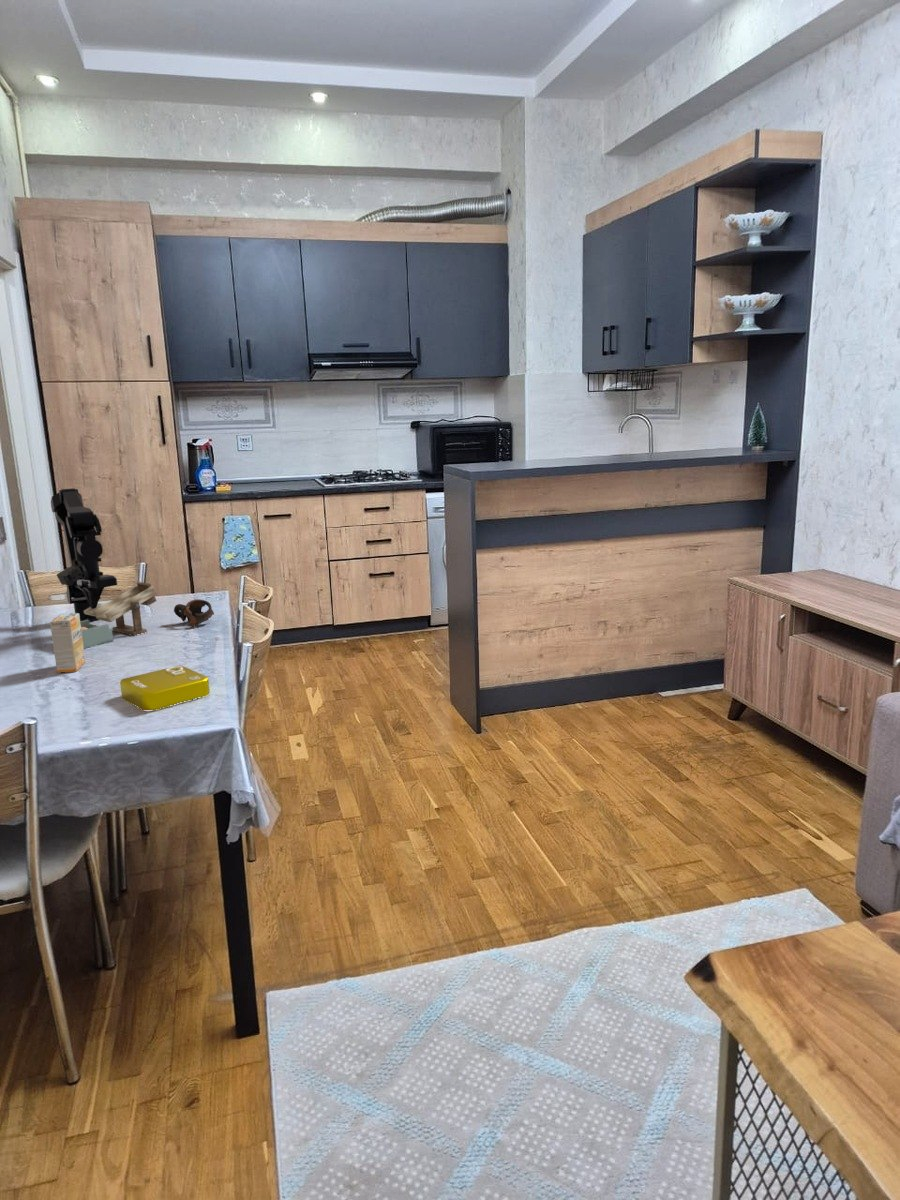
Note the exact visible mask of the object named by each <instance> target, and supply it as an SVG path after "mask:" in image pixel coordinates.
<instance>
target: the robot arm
mask: <svg viewBox="0 0 900 1200" xmlns="http://www.w3.org/2000/svg"><path fill="white" fill-rule="evenodd" d="M50 507H51V512H52V513H54V516H55V519H56V521H58V523H59V524H61V526H62V528H63V532H64V538H65V545H66V548H67V554H68V558H69V562H70V566H69V567H67V568H65V569H63V570H62V571H60V572H58V573H57V574H56V577H57V579H58V580H59V582H60V584H61V585H65V586H66V599H67V602H68V604H70V605H71V604H73V608H74V613H79V616H80V621H84V620H89V622H92V621H97V620H98V619H97V618H96V616H91V615H87V614H84V612H83V611H84V610H86V609H88V608H89V607H91V608H92V609H94V608H96V607H97V605H99V602H100V600H101V596H102V593H103V591H104V590H105V589H104V588H108V587H109V588H110V587H115V586H117V585H118V579H117V577H116V576H115V575H113V574H112V575H111V574H104V572H103V571H100V566H99V562H100V563H101V562H102V557H101V556H102V554H103V550H104V549H103V545H102V544H101V542H100V541H98V540H97V539H96V537H97V536H101V535H102V532H103V531H102V530H103V529H102V525H101V523H100V522H101V521H100V520H99V517H98V516H97V515H96V514H95V513H94V511H93V510H92V509H91V508H89V507H85V506H84V501H83V496H82V494H81V493H79V490H78V488H74V487H72V488H62V489H59V490H58V492H57V493H56V494H54V495H52V496H51V499H50Z"/></svg>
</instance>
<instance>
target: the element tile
mask: <svg viewBox="0 0 900 1200" xmlns="http://www.w3.org/2000/svg"><path fill="white" fill-rule="evenodd" d="M119 682H120V683H119V684H120V692H121V693H120V694H121V698H123V699H122V700H124V699H125V700H124V701H125V702H127V701H128V702H127V703H129V702H130V703H129V704H131V703H132V704H134V705H136V706H138V707H139V708H141V709H142V710H156V709H160V708H163V707H167V706H170V705H174V704H177V703H180V702H184V701H188V700H192V699H195V698H198V697H203V696H206V695H208V694H209V693H210V694H211V692H210V681H209V677H208V676H206V675H204V674H202V673H200V672H197V671H195V670H194V669H193V670H192V669H191V668H188V667H186V666H183V665H175V666H170V667H167V668H162V669H158V670H155V671H151V672H146V673H142V674H138V675H133V676H128V677H126V678H122V679H121V680H120V681H119ZM132 704H131V705H132ZM134 705H133V706H134ZM136 706H135V707H136ZM139 708H138V709H139ZM141 709H140V710H141ZM142 710H141V711H142ZM160 710H161V709H160Z"/></svg>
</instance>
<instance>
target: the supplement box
mask: <svg viewBox="0 0 900 1200" xmlns="http://www.w3.org/2000/svg"><path fill="white" fill-rule="evenodd" d="M49 624H50V625H49V626H50V632H51V638H52V639H51V640H52V644H53V651H54V659H55V667H56V673H58V674H62V673H61V672H65V673H74V672H75V673H76V672H77V671H78V670H79V669H80V668H81V666H83V665H84V664H85V663H86V656H85V649H84V647H83V639H82V632H81V624H80V616H79V613H75V612H74V613H63V614H59V615H58V616H56V617H55V618H53V620H51V621H49Z"/></svg>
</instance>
